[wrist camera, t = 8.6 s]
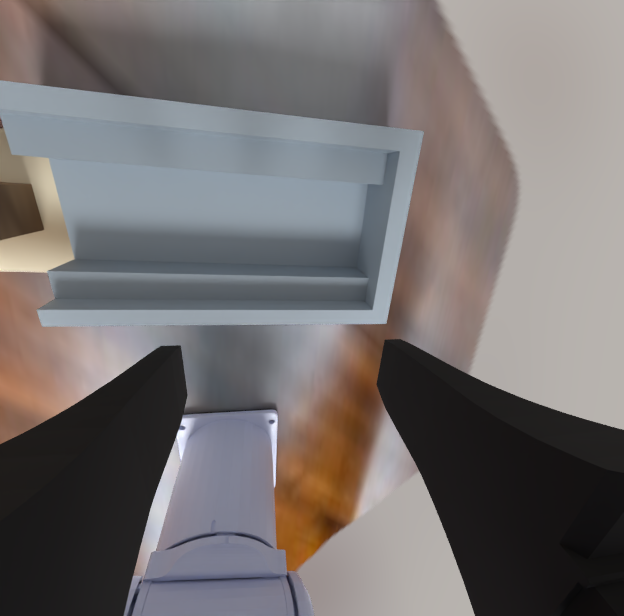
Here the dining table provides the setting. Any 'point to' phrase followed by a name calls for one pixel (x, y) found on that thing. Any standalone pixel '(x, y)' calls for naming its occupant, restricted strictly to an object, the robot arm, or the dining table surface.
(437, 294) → the dining table surface
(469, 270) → the dining table surface
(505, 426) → the robot arm
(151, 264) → the box
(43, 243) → the cover plate
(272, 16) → the dining table surface
